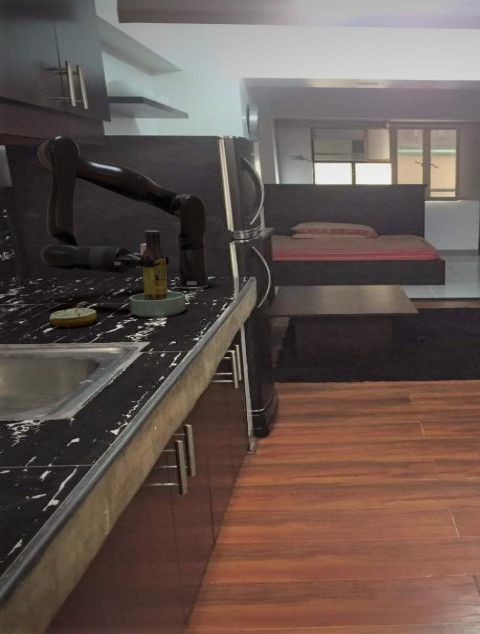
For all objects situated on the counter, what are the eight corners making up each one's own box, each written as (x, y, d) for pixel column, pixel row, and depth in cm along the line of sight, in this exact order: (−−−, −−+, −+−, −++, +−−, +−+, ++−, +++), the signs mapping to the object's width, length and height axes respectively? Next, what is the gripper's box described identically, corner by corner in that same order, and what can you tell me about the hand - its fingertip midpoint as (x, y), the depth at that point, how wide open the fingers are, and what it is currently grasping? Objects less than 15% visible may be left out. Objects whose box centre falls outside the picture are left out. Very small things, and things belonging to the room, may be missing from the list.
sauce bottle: (159, 301, 171) (153, 232, 167) (139, 300, 173) (134, 231, 168) (172, 297, 178) (168, 230, 173) (154, 296, 179) (149, 229, 174)
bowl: (152, 306, 185) (150, 290, 184) (195, 308, 182) (194, 292, 181) (119, 316, 171) (117, 299, 169) (166, 319, 168) (165, 301, 167)
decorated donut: (66, 319, 167) (64, 306, 166) (104, 319, 166) (103, 306, 166) (42, 328, 156) (40, 314, 156) (83, 328, 156) (82, 314, 156)
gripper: (91, 249, 168) (144, 251, 165) (125, 244, 182) (175, 246, 179) (93, 275, 169) (146, 278, 166) (127, 268, 183) (177, 271, 180)
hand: (161, 262), depth 172 cm, fingers closed on sauce bottle, 6 cm apart
